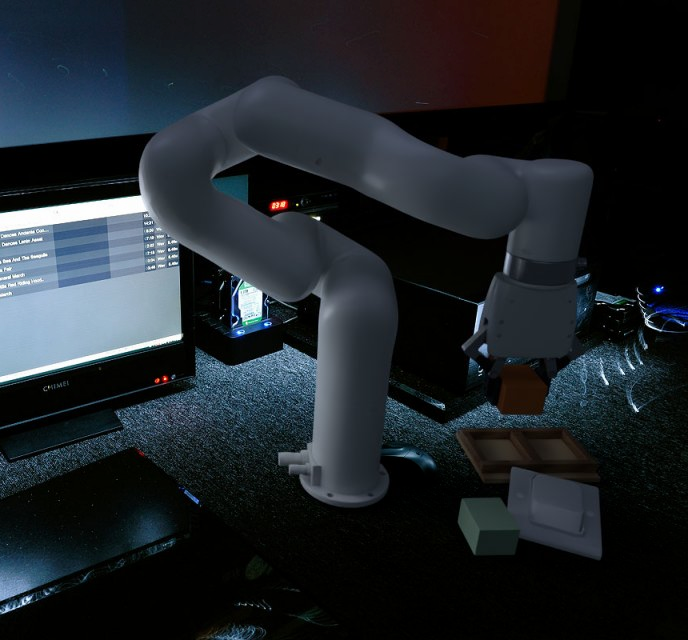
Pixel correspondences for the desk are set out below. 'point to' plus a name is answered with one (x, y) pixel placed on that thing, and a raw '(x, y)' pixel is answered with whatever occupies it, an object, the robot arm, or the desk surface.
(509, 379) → the orange block
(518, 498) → the light switch
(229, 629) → the desk surface
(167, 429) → the desk surface
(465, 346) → the robot arm
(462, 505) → the green rectangular block
